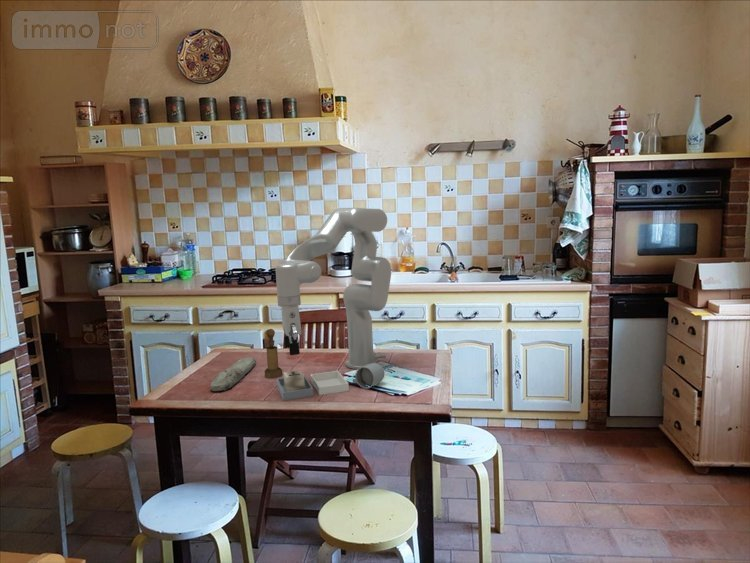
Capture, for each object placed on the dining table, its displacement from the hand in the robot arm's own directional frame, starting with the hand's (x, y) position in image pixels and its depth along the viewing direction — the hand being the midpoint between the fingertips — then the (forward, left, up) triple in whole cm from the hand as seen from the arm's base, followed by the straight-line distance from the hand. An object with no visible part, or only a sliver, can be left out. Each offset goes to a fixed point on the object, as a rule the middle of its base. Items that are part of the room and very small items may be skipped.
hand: (292, 350), depth 188 cm
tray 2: (-12, 0, -14) cm, 19 cm away
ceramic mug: (-25, +3, -15) cm, 29 cm away
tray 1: (0, 0, -14) cm, 14 cm away
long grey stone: (+18, -26, -15) cm, 35 cm away
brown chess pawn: (+4, -20, -15) cm, 25 cm away
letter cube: (0, 0, -14) cm, 14 cm away
